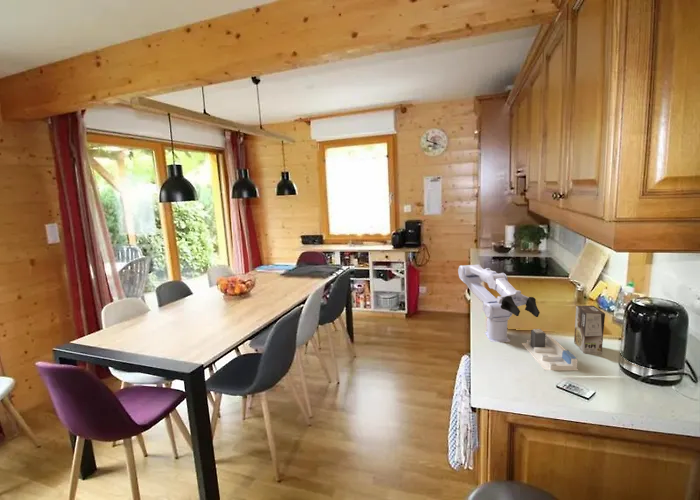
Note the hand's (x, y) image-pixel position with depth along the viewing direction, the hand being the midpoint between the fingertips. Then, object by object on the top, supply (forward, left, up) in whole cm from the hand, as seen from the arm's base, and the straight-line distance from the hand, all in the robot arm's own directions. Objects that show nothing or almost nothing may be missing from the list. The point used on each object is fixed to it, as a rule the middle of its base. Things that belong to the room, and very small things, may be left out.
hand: (528, 314), depth 126 cm
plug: (-10, +8, -18) cm, 22 cm away
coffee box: (-10, +26, -18) cm, 33 cm away
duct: (-4, +9, -18) cm, 21 cm away
